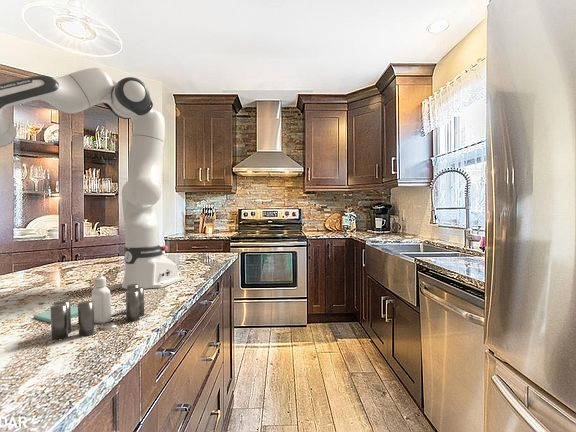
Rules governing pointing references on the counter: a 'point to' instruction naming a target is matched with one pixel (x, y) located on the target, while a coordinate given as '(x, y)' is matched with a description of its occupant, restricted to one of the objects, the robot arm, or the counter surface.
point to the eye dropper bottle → (101, 300)
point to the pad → (47, 315)
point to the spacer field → (92, 313)
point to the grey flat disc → (109, 326)
